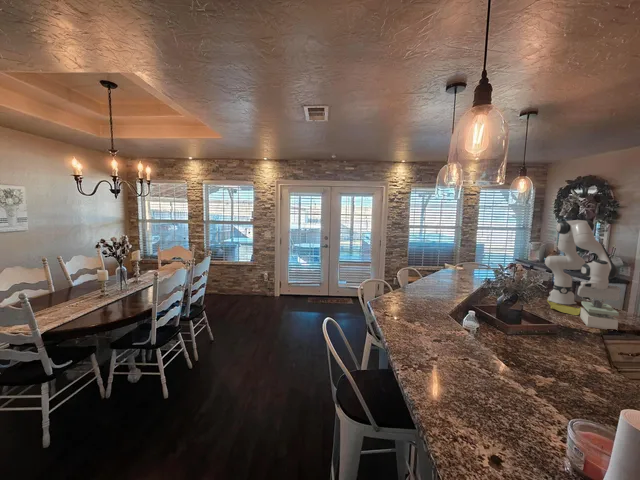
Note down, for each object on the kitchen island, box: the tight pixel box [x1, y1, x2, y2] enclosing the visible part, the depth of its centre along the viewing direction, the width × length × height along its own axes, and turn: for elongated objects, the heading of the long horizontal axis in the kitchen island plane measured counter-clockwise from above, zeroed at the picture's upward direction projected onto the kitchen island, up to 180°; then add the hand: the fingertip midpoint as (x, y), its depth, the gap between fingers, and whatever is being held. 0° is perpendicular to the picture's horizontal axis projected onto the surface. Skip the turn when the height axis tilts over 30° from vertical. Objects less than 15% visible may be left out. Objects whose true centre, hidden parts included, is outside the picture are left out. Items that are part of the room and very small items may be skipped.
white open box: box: [579, 307, 619, 331], centre depth 190 cm, size 20×14×9 cm
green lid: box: [581, 299, 620, 317], centre depth 190 cm, size 20×14×6 cm
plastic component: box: [546, 299, 582, 316], centre depth 216 cm, size 20×7×10 cm
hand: (597, 304), depth 190 cm, fingers closed on green lid, 2 cm apart
